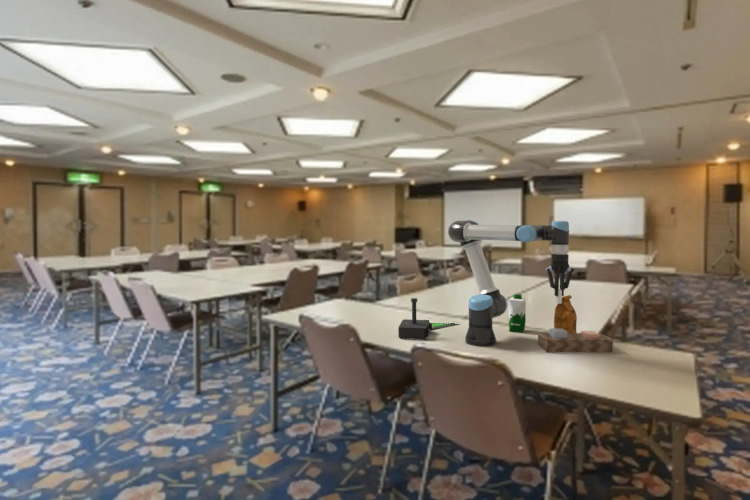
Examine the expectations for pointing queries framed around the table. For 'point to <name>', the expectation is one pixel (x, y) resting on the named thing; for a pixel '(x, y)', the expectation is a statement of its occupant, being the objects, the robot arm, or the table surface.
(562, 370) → the table surface
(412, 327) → the black joystick
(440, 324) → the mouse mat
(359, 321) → the table surface
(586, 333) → the terracotta key
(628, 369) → the table surface
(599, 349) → the brown woven basket
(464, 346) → the table surface
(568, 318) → the coffee package
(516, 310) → the milk carton
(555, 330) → the slate key
